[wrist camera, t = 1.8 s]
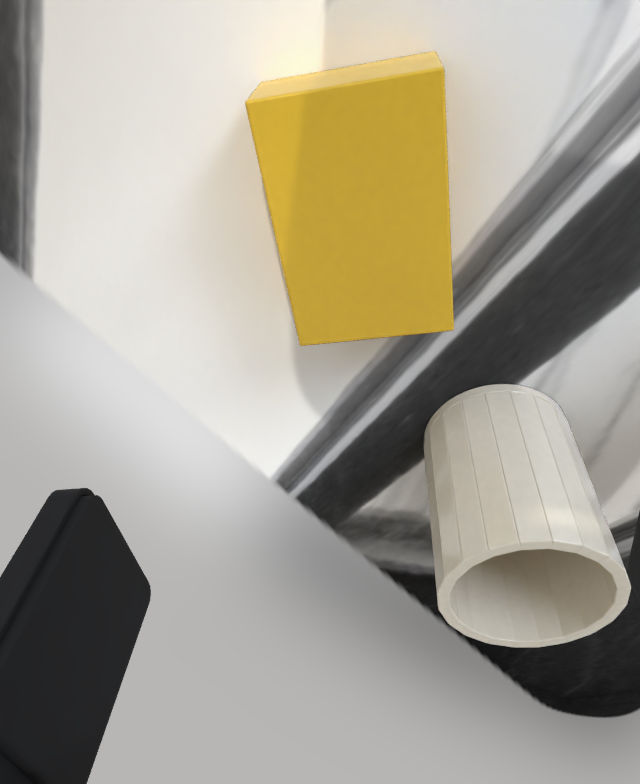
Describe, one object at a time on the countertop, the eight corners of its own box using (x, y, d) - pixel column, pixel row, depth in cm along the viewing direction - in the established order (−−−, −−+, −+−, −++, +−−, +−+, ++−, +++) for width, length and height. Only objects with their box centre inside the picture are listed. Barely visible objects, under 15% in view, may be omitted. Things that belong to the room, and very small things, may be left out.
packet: (259, 82, 20) (243, 101, 18) (436, 50, 19) (444, 66, 17) (306, 308, 26) (299, 347, 23) (447, 293, 25) (454, 331, 22)
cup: (418, 390, 28) (433, 545, 21) (574, 376, 27) (645, 536, 20) (427, 490, 32) (441, 648, 25) (562, 483, 31) (617, 646, 24)
